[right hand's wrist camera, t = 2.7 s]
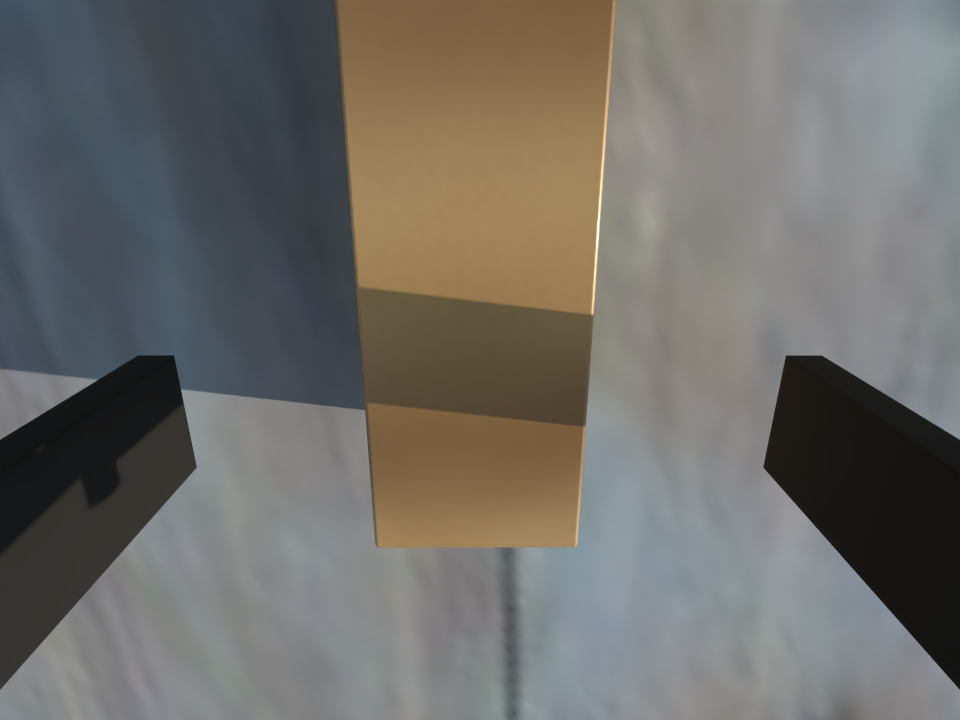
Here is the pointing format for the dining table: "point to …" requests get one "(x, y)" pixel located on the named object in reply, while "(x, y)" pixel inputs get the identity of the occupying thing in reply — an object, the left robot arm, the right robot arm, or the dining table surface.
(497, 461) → the bar
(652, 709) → the dining table surface
